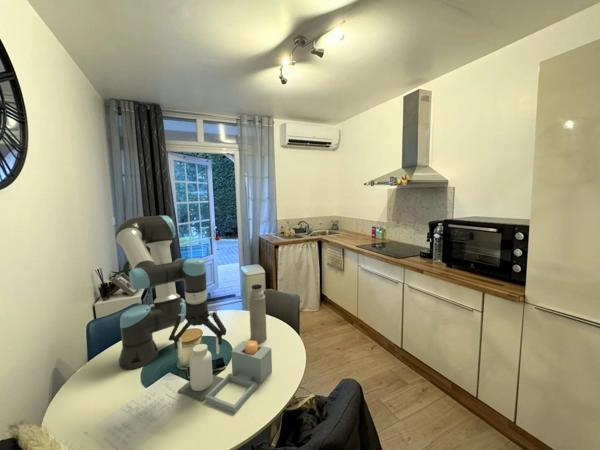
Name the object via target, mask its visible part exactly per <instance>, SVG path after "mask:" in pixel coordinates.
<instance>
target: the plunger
mask: <svg viewBox="0 0 600 450" xmlns="http://www.w3.org/2000/svg"><path fill="white" fill-rule="evenodd" d="M245 342H246V343H245V353H246V354H250V355H254V354H255V353H256V352H257V351H258V346H257V345H258V343H257V342H256V341H251V340H247V341H245Z"/></svg>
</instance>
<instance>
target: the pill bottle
mask: <svg viewBox="0 0 600 450" xmlns="http://www.w3.org/2000/svg"><path fill="white" fill-rule="evenodd" d="M212 356H213V355H212V353H211V351H209V350H208V345H207V344H206V343H200V344H196V345H195V346H193V347H192V354H191V355H190V357H189V359H188V360H189V362H188V363H189V376H190V377H189V379H190V380H189V381H190V382H191V388H192V389H193V390H194V391H202V390H205V389H207V388H208V387H210V386H211V384H212V381H213V376H212V375H213V362H212V360H213V357H212Z"/></svg>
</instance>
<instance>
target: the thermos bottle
mask: <svg viewBox="0 0 600 450" xmlns="http://www.w3.org/2000/svg"><path fill="white" fill-rule="evenodd" d="M262 287H263V286H262V285H261V284H252V285H251V290H250V294H249V297H248V301H249V302H248V305H249V306H248V307H249V327H250V329H249V330H250V341H256V342H257V344H259V343H263V342H265V341H267V336H268V335H267V333H268V332H267V314H266V312H267V310H266V308H267V307H266V295H265V292H264V291H263V289H262Z"/></svg>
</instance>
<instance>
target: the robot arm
mask: <svg viewBox="0 0 600 450" xmlns="http://www.w3.org/2000/svg"><path fill="white" fill-rule="evenodd" d="M114 236H115V237H114V238H115V240H116V243H117V244H118V245H119V246H120V247H122V249H123V252H124V254H125V256H126V258H127V261H128V263H129V266H130V267H131V269H130V270H129V272H128V280H129V283H130V287H131V289H132V290H133V291H134V290H135V291H136V290H144V289H148V288H149V289H150V288H153V287H154V288H155V295H156V298H155V299H154V301H153V305H152V306H150V305H149V304H139V305H136V306H133V307H132V306H131V308H128V309H126V310H125V311H124V312H123V313H122V314H121V315H120V318H119V327H120V332H121V343H122V344H121V346H122V347H121V348H122V349H121V350H120V355H119V358H118V363H119V364H118V365H119V367H120V368H121V369H122V370H134V369H138V368H141V367H145V366H146V365H149V364H150V363H153V362H154V361H155V360H156V359H157V358H158V356H159V348H158V346H157V344H156V342H155V340H154V338H153V334H154V333H157V332H159V331H162V330H166V329H168V328H172V327H173V329H172V331H171V333H170V335H169V337H168V341H169V342H170V341H173V343H174V349H175V350H177V357H178V358H177V359H181V358H182V355H183V345H182V343H183V342H182V338H181V337H182V336H183V334H184V333H185V332H186V331H187V330H188V328H189V327H191V326H192V327H195V326H202V325H203V326H205V327H207V328H208V329H209V330H210V331H211V332H212V333H213V334H214V335H216V337H215V345H216V346H215V349H216V355H219V353H220V345H222V343H223V342H222V341H223V338H222V337H223V336H225V335H227V329H226V326H225V325H224V324H223V322H222V321H221V319H220V317H219V316H218V312H217V310H216V309H214V310H212V311H209V307H208V300H207V298H208V292H207V291H208V290H207V267H206V262H205V260H204V259H203V258H199V257H196V258H195V257H194V258H188V259H186V258H176V259H175V260H172V253H171V248H170V247H171V244H172V243H173V239H174V238H175V237H176V226H175V224H174V221H173V219H172V218H171V217H170V216H169V215H152V216H151V215H149V216H132V217H130V218H128V219H126V220H124V221H123V222H121V223H120V225H118V227H117V228H116V230H115V234H114ZM144 242H145V243H144ZM147 247H148V248H149V249H147ZM180 281H183V283H184V298H185V299H184V298H181V295H180V294H178V293H177V288H176V282H180ZM209 317H211V318H212V319H213V322H214V323H215V324H216V325H215V324H214V323H213V322H212V321H211V320H210V319H209ZM185 320H186V321H187V322H186V323H185V324H184V326H183V327H182V328H181V329H180V330H179V332H178V333H177V334H176V332H177V330H178V328H179V326H180V325H181V324H183V323H184V321H185ZM175 334H176V335H175Z"/></svg>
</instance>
